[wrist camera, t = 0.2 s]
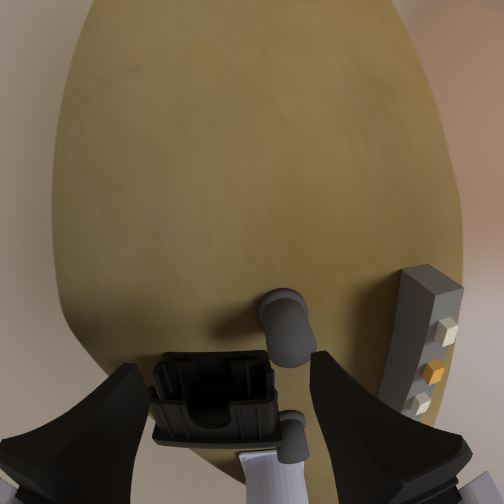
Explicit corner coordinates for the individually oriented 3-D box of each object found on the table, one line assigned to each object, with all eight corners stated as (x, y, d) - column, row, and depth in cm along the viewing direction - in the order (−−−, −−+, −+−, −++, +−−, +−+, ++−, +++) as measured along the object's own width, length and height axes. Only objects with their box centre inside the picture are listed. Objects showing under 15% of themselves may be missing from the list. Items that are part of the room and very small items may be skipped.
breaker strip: (394, 405, 26) (414, 442, 20) (372, 412, 26) (390, 451, 20) (428, 264, 20) (474, 294, 14) (401, 268, 20) (445, 303, 14)
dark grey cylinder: (303, 426, 25) (311, 462, 21) (271, 431, 25) (275, 467, 21) (304, 407, 24) (313, 445, 20) (269, 412, 24) (273, 451, 20)
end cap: (173, 404, 24) (161, 457, 17) (156, 350, 22) (134, 407, 15) (274, 402, 24) (281, 458, 18) (274, 348, 22) (284, 409, 15)
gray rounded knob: (305, 325, 21) (320, 366, 16) (260, 331, 21) (265, 374, 16) (305, 285, 20) (322, 321, 15) (256, 291, 20) (260, 329, 15)
